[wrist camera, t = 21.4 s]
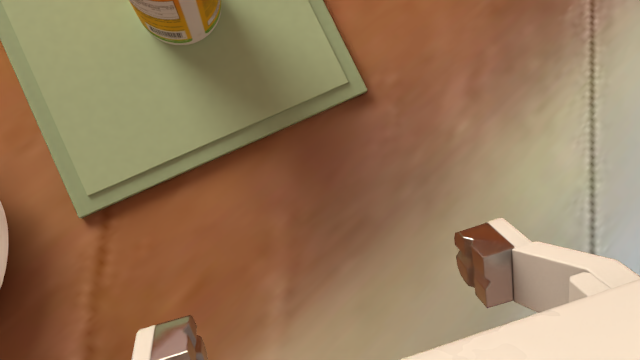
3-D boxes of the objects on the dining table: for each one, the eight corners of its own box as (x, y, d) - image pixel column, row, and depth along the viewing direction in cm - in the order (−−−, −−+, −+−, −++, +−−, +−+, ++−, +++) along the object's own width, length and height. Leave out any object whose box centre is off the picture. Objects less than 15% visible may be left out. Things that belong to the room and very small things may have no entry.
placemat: (254, -134, 35) (254, -140, 34) (366, 92, 33) (368, 89, 33) (-31, -35, 31) (-36, -40, 31) (81, 218, 30) (77, 218, 30)
